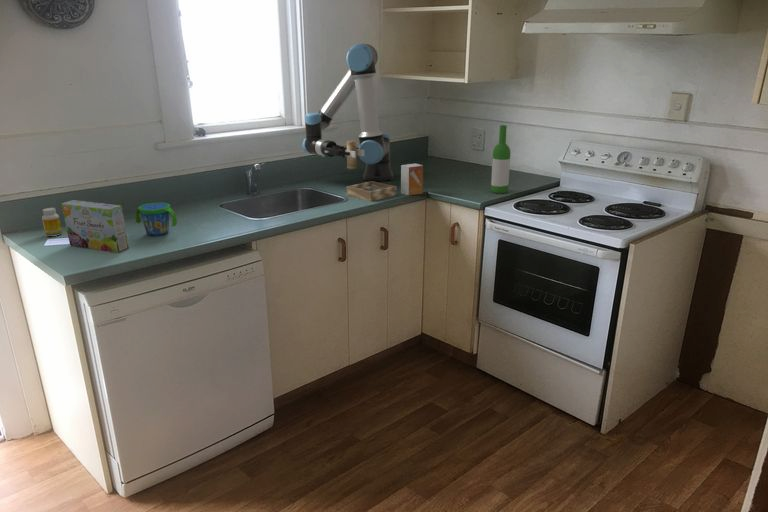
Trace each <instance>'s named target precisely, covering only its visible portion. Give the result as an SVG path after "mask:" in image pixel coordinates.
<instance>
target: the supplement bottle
mask: <svg viewBox="0 0 768 512" xmlns="http://www.w3.org/2000/svg"><path fill="white" fill-rule="evenodd" d="M42 214H43V215H42V216H41V220H42V225H43V230H44V235H45V237H47V236H55V235H59V234H61V233H62V234H63V230H62V225H61V221H60V216H59V214H58V213H57V210H56V208H55V207H47V208H43V209H42ZM62 234H61V235H62Z"/></svg>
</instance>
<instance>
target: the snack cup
mask: <svg viewBox="0 0 768 512" xmlns="http://www.w3.org/2000/svg"><path fill="white" fill-rule="evenodd" d="M134 216H135V222H136V223H137V224H141V223H143V227H144V229H145V232H146V234H147V235H148V236H164V235H167V234H168V232H169V230H170V217H172V219H171V220H172V222H171V224H172V225H171V226H172V227H175V226H177V224H178V220H177V219H178V218H177V216H176V213H175V212H174V210H173V208H171V204H169V203H166V202H150V203H144V204H142V205H140V206H138V207H137V208H136V210H135V215H134ZM163 234H164V235H163Z"/></svg>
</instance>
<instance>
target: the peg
mask: <svg viewBox="0 0 768 512" xmlns="http://www.w3.org/2000/svg"><path fill="white" fill-rule="evenodd" d="M346 146H347V150H350V151H356V148H357V140H347V141H346ZM357 156H358V155H357V152H356V158H353V157H348V156H346V169H349V170H353V169H354V170H356V169H357V168H358V160H357Z"/></svg>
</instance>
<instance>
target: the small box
mask: <svg viewBox="0 0 768 512" xmlns="http://www.w3.org/2000/svg"><path fill="white" fill-rule="evenodd" d="M423 187H424V165H423V164H419V163H407V164H402V165H400V194H402V195H405V196H414V195H422V194H423V193H424V192H423V189H424V188H423Z"/></svg>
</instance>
